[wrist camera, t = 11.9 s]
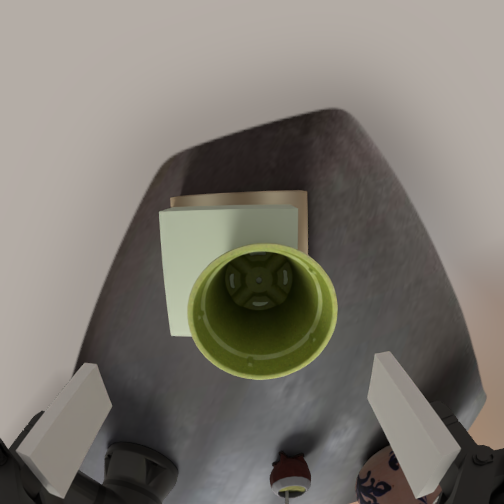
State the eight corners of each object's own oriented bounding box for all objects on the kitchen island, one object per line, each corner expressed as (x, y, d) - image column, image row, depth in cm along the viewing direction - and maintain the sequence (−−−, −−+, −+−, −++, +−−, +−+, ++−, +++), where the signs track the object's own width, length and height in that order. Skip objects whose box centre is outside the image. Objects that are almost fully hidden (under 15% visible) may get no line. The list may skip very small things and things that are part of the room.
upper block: (181, 314, 33) (171, 335, 28) (173, 207, 30) (159, 211, 25) (288, 314, 33) (294, 335, 28) (290, 204, 30) (298, 208, 25)
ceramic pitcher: (352, 442, 44) (388, 552, 19) (447, 411, 43) (504, 494, 19) (345, 486, 48) (367, 573, 23) (428, 459, 47) (466, 533, 23)
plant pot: (199, 229, 26) (175, 251, 17) (308, 219, 25) (337, 237, 17) (212, 328, 28) (200, 383, 19) (312, 319, 28) (335, 370, 19)
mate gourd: (297, 443, 43) (308, 512, 29) (314, 462, 45) (326, 524, 30) (259, 457, 44) (261, 524, 30) (279, 475, 46) (284, 536, 31)
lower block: (191, 305, 38) (183, 322, 33) (181, 195, 35) (170, 197, 30) (300, 301, 38) (306, 318, 33) (299, 190, 35) (307, 191, 30)
